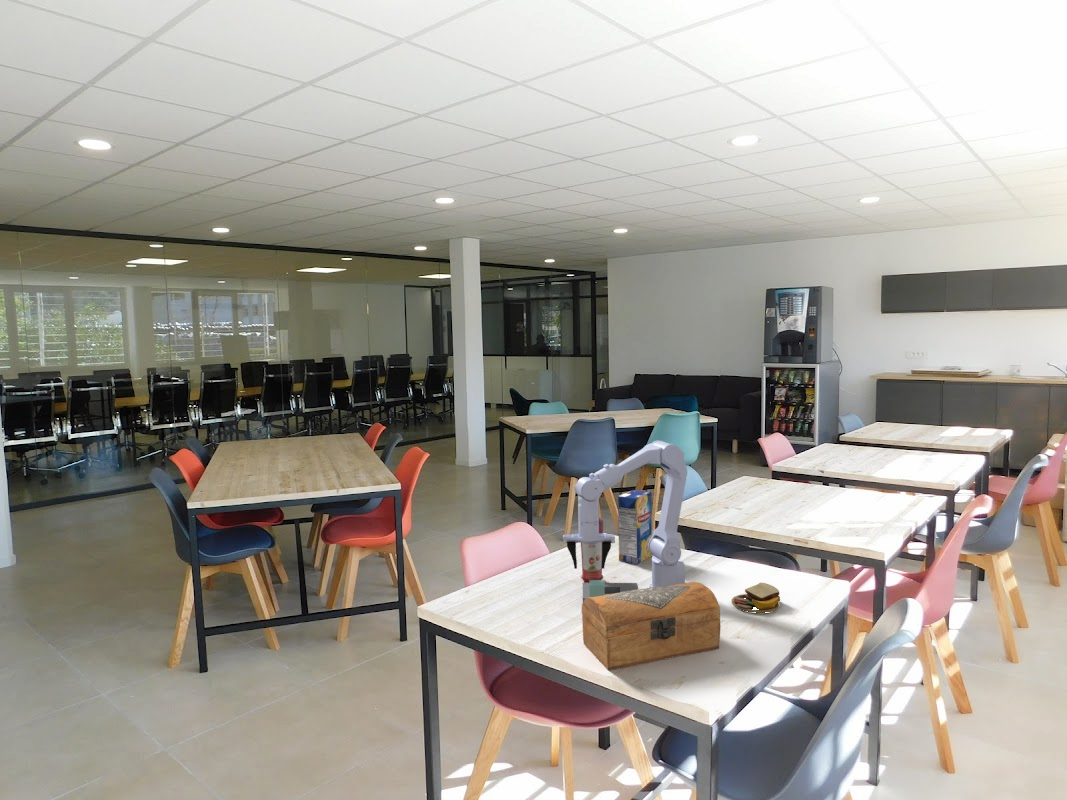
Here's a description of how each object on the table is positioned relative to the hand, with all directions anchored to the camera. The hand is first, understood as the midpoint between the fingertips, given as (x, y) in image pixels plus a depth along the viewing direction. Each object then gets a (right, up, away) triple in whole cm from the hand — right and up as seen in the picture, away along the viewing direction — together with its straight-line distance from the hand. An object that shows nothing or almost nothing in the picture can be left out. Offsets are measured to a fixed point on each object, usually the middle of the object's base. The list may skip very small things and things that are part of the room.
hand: (589, 567), depth 194 cm
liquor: (+2, -9, +17) cm, 19 cm away
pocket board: (+6, -10, +2) cm, 12 cm away
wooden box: (+13, -13, -28) cm, 33 cm away
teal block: (+2, -10, -7) cm, 13 cm away
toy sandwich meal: (+46, -10, -4) cm, 47 cm away
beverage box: (+19, -6, +38) cm, 42 cm away
